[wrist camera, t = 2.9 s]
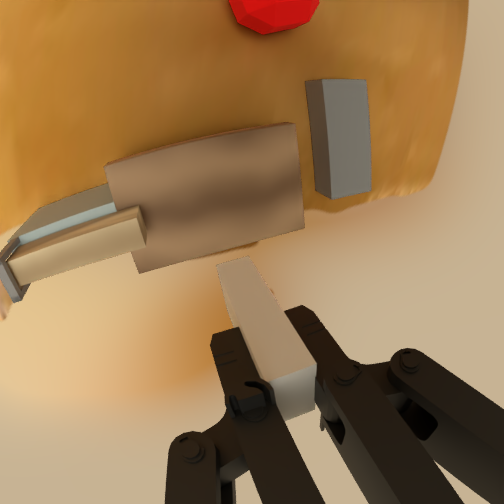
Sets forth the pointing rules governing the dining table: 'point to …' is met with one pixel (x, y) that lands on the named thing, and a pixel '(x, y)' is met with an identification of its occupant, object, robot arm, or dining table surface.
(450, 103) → the dining table surface
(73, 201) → the grey block with peg
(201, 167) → the lid
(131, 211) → the bar
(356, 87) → the block
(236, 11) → the ball
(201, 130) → the dining table surface
